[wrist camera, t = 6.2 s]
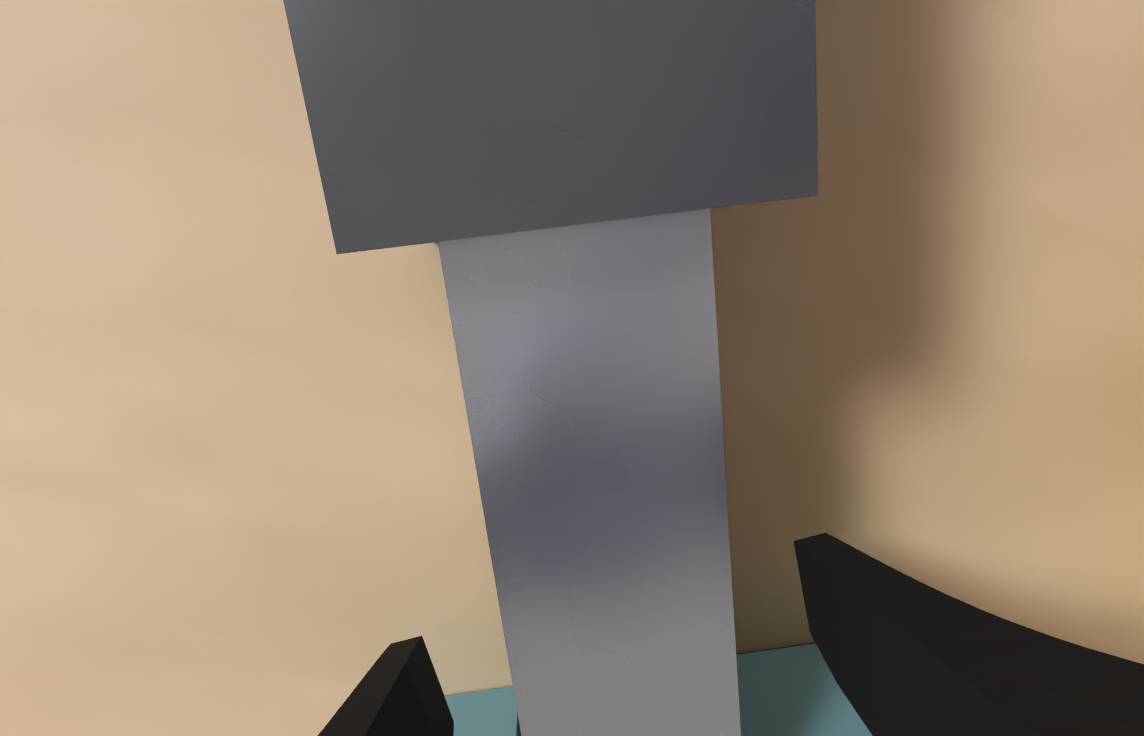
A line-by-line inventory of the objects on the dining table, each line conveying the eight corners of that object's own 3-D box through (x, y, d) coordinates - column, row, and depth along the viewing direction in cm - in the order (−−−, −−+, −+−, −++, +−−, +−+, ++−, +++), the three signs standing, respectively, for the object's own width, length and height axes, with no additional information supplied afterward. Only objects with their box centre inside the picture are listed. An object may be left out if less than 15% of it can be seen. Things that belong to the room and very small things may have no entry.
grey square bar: (637, -41, 11) (687, -166, 7) (703, 788, 15) (754, 961, 12) (428, -18, 10) (375, -133, 7) (557, 809, 15) (564, 991, 12)
